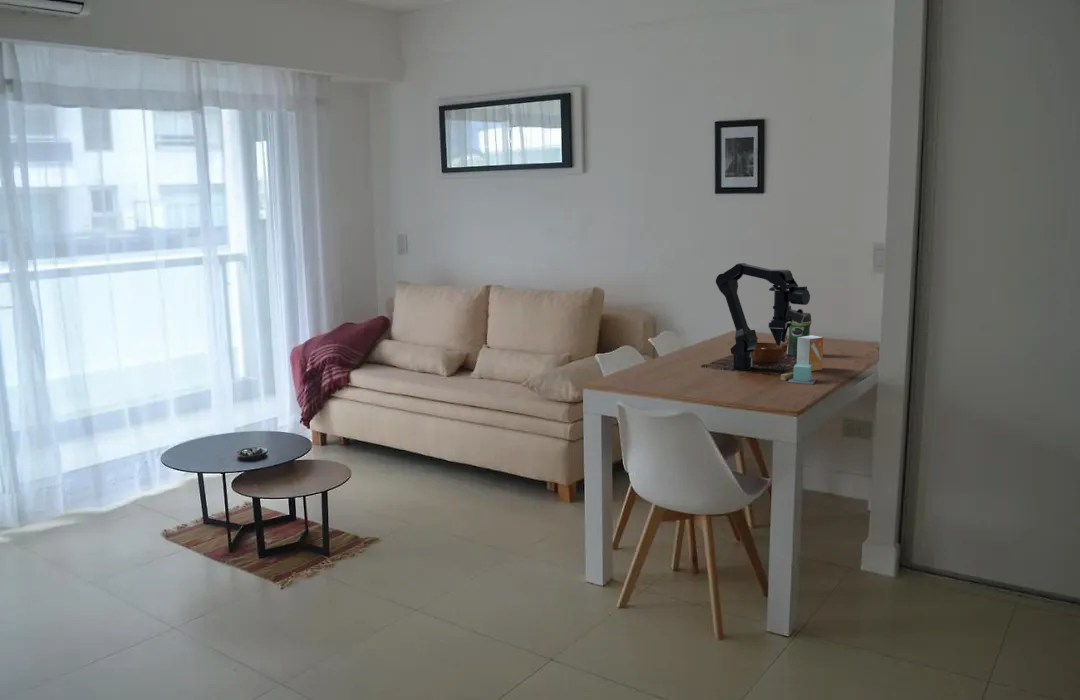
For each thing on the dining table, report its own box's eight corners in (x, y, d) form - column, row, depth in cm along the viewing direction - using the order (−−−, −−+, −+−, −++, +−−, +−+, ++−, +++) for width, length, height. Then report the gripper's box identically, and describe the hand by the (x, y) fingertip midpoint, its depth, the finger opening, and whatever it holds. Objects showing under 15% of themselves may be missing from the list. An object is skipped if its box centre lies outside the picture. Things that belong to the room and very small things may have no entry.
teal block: (793, 381, 331) (793, 366, 330) (795, 378, 336) (796, 363, 335) (808, 382, 329) (809, 367, 328) (810, 379, 333) (811, 364, 333)
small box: (808, 372, 349) (809, 338, 347) (796, 369, 354) (797, 337, 352) (822, 369, 353) (823, 336, 351) (809, 367, 358) (810, 334, 356)
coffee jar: (812, 354, 385) (813, 311, 382) (807, 357, 378) (809, 314, 375) (789, 353, 390) (791, 310, 387) (784, 356, 383) (786, 313, 380)
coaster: (787, 382, 330) (787, 381, 330) (791, 378, 338) (791, 377, 338) (812, 384, 326) (812, 383, 326) (816, 379, 334) (816, 378, 334)
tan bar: (784, 380, 334) (784, 375, 334) (780, 379, 336) (780, 374, 335) (798, 377, 338) (799, 372, 338) (794, 377, 340) (794, 371, 340)
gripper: (799, 306, 329) (798, 348, 332) (807, 300, 346) (806, 340, 349) (768, 305, 334) (767, 346, 337) (778, 300, 351) (777, 339, 353)
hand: (780, 343), depth 344 cm, fingers open, 9 cm apart
